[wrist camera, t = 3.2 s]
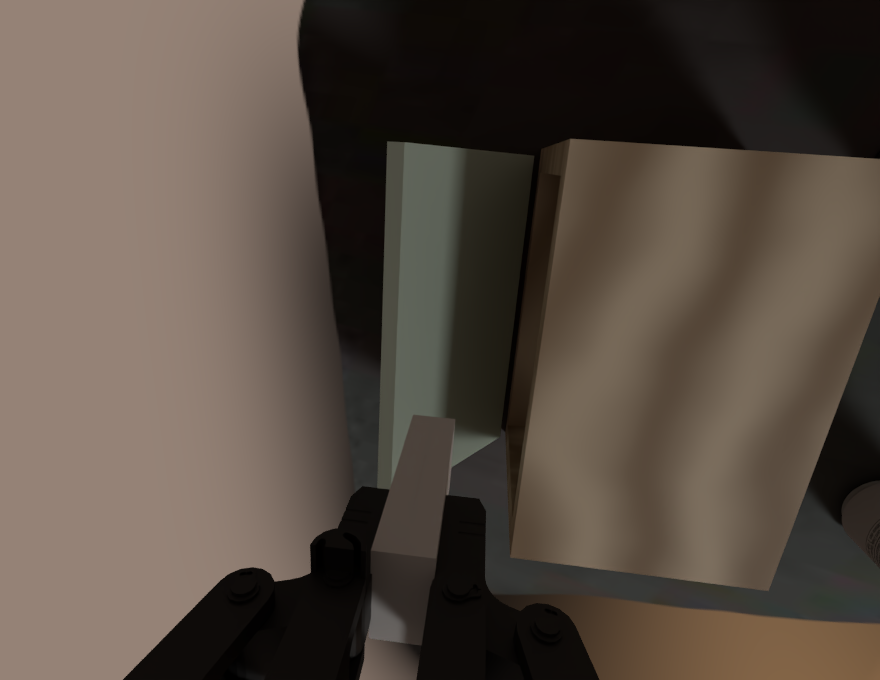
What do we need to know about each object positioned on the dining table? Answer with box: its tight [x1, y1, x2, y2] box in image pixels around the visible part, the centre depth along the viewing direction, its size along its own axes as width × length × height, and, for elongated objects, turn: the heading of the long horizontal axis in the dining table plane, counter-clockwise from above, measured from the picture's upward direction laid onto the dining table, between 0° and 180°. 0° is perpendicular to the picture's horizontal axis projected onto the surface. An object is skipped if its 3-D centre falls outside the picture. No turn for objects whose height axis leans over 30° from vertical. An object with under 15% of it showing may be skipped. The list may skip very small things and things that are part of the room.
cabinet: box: [505, 139, 880, 591], centre depth 30 cm, size 14×22×14 cm, turn 176°
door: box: [377, 142, 534, 490], centre depth 32 cm, size 2×21×12 cm
